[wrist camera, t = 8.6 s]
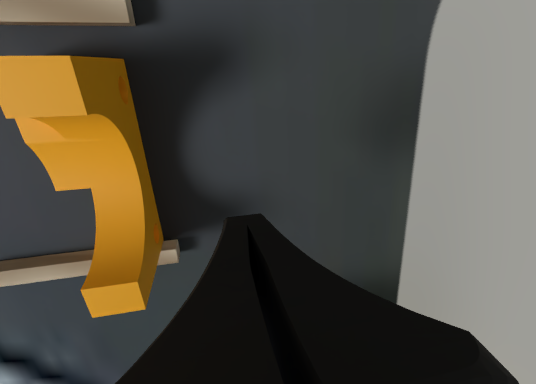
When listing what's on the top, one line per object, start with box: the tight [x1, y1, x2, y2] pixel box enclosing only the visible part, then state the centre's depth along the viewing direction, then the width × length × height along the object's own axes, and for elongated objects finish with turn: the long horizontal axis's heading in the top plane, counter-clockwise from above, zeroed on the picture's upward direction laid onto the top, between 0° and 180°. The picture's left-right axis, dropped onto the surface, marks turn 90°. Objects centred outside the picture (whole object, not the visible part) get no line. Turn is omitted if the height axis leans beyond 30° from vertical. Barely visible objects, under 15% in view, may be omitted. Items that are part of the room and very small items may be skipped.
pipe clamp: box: [0, 56, 164, 318], centre depth 14 cm, size 12×4×6 cm, turn 0°
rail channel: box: [0, 0, 180, 287], centre depth 15 cm, size 16×12×1 cm
